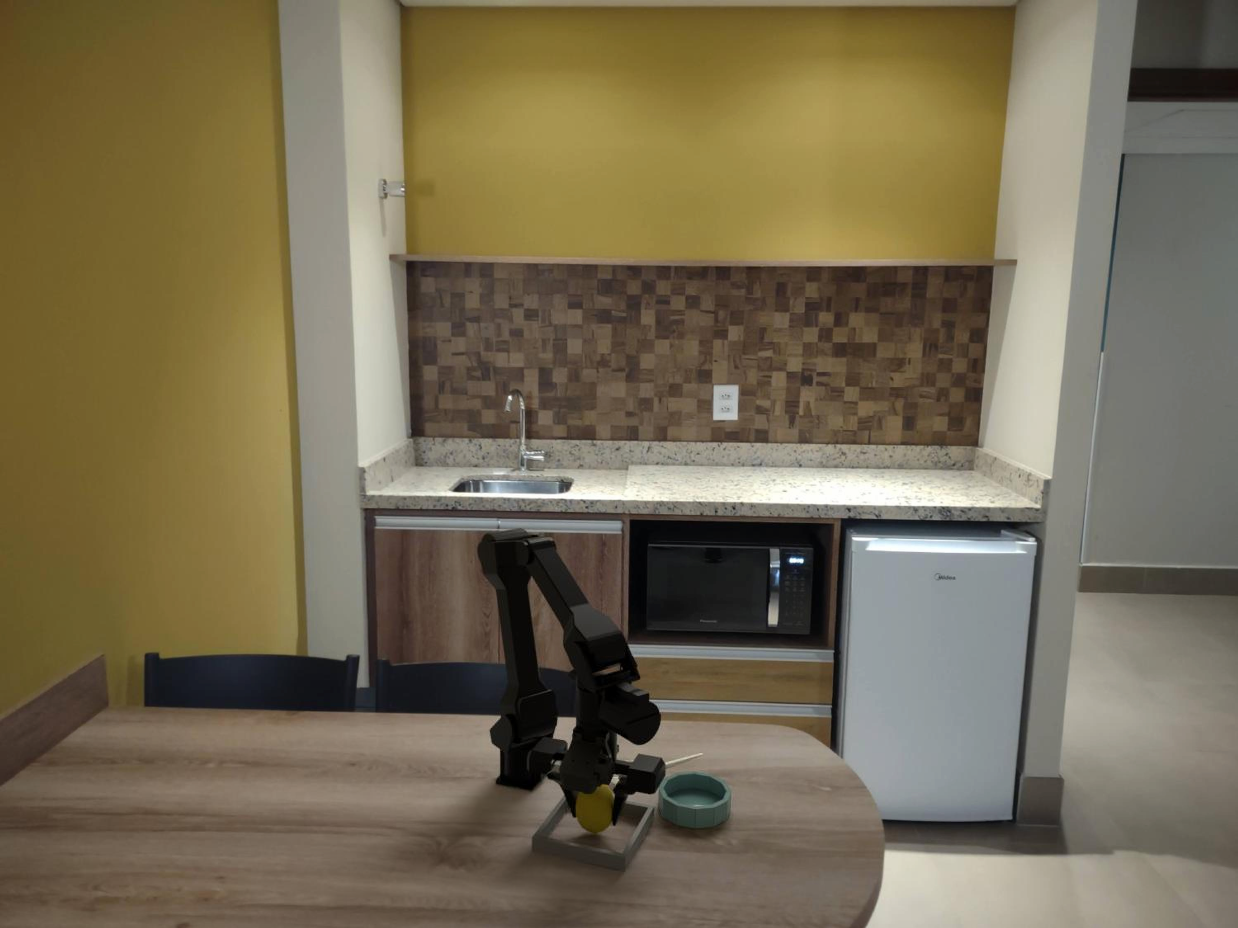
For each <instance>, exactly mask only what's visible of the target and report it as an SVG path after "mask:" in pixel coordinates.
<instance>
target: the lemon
mask: <svg viewBox="0 0 1238 928" xmlns="http://www.w3.org/2000/svg"><path fill="white" fill-rule="evenodd" d="M613 805H614V793H613V791H612V790H611V788H610V787H609V785H604V784H603V785H601V787H597V789H596V791H595V792H594V793H592V794H584V793H582V792H579V794H578V797H577V800H576V816H577V817H576V820H577V822H578V824H579V825H580V827H581V828H582V829H583V830H585V831H587V832H588V833H591V834H592V835H595V836H596V835H598V834H599V833H603V832H605V830H607V829H608V828H610V827H611V825H612V814H613Z"/></svg>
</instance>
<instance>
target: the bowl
mask: <svg viewBox="0 0 1238 928" xmlns="http://www.w3.org/2000/svg"><path fill="white" fill-rule="evenodd" d="M657 799H658V800H657V802H658V803H657V808H658V809H659V812H660V814H661V816H662V817H663V818H664V819H666V820H667V821H669V822H671V823H673V824H674V825H677V826H682V827H685V828H691V829H703V828H713V827H716V826H717V825H720V824H721V823H723V822H725V821H727V820H728V818H729V815H730V813H731V811H732V810H731V809H732V807H731V806H732V790H731V788H730V787H729V785H728V783H727V782H726V781H725V780H723V779H721V778H719V776H718V777H717V776H715V775H714V774H712V773H711V774H710V773H705V772H701V771H700V772H699V771H683V772H682V771H681V772H675V773H673V774H671V775H669V776H667V777H664V779H663V781H662V782H661V784H660V786H659V788H658V798H657Z"/></svg>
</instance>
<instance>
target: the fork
mask: <svg viewBox="0 0 1238 928" xmlns="http://www.w3.org/2000/svg"><path fill="white" fill-rule="evenodd" d="M701 756H704V753H702V752H701V753H696V754H692V755H688V756H684V757H682V758H677V759H674V760H671V761H670V760H669V761H666V762H665V764H666V769H668V768H671V767H673V766H676V765H679V764H682V763H684V762H688V761H691V760H692V759H696V758H698V757H701ZM618 781H619V779H618V776H613V778H612V780H611V783H610V784H612V785H615V786H616V784H617V783H618Z"/></svg>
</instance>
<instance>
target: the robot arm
mask: <svg viewBox="0 0 1238 928" xmlns="http://www.w3.org/2000/svg"><path fill="white" fill-rule="evenodd" d="M476 550H477V557H478V560H479V562H480V565H481V570H482V574H483V576H484V577H485V579H487V581H488V582H489V583H490V584H491V586H492V587H493V589H494V590H495V593H496V600H497V601H496V602H497V609H498V617H499V626H500V631H501V632H500V633H501V642H502V647H503V654H504V661H505V662H504V663H505V670H506V671H505V672H506V676H507V677H506V679H507V685H506V688H505V690H504V692H503V695H502V697H501V700H500V703H499V704H500V705H499V706H500V708H499V710H500V711H499V712H500V718H499V719H498V720H497V721H496V722H495V724H493V725H492V726H491V728H490V729H489V736H490V742H491V744H492V745H493V746H495V747H496V748H497V749H499V775H498V777H496V779H495V780H494V781H495V782H494V783H495V785H501V786H505V787H510V788H514V789H515V788H516V789H521V790H525V791H530V792H531V791H534V790H535V789H536V788H537V787H538V785H540V783H541V782H542V781H543V780H544V778H547V779H548V780H550V781H553V782H555V783H557V785H559V787H560V789H561V791H562V793H563V796H564V795H565V798H566V800H567V803H568V806H569V808H568V809H569V811H570V814H571V816H572V818H573V819H577V816H576V800H577V797H578V794H579V792H582V793H584V794H592V793H594V792H595V791H596V789H597V787H601V785H603V784H604V785H607V786H609V785H611V784H612V783H611V780H612V778H613V777H614V775H616V776H617V777H618V779H619V781H618V783H617V784H616V785H615V786H614V787H613V789H612V794H613V797H614V805H613V814H612V823H611V825H612V826H613V827H616V826H617V824H618V823H619V819H620V817H621V816H622V815H621V813H622V810H623V808H624V805H625V802H626V801H628V800H627V799H628V797H629V796H633V795H635V794H636V793H640V794H646V795H655V794H656V793H657V791H658V790H659V786H660V784H661V783H662V781H663V779H664V778H666V771H667V770H666V769H667V768H666V764H665V763H666V762H665V761H664V760H663V758H662V756H661V757H660V756H655V755H649V754H643V753H637V755H636V756H635V758H634V759H626V760H621V759H620V760H619V759H618V758H617V756H618V754H619V753H620V744H618V736H620V737H621V738H623V739H625V740H627V741H629V742H630V743H632V744H633V745H635V746H644V745H647V743H650V742H651V740H653V739H654V737H655V736H656V735H657V733H658V731H659V729H660V726H661V722H662V714H661V713H660V709H659V707H658V706H657V704H656V703H654V702H653V701H651V700H650V692H649V691H646V690H645V689H641V688H638V687H636V686H635V685H633V683H634V682H635V683H636V682H637V681H640V680H641V676H640V671H639V670H638V667H639V665H638V664H637V662H636V659H635V658H634V655H633V654H632V650H631V649H630V647H629V643H628V642H627V639H626V637H625V635H624V633H623V631H622V630H621V628H619V626H617V624H616V622H614V620H613V619H612V618H611V616H608V614H605V613H604V612H601V611H600V610H598V609H596V608H594V607H593V605H592V604H591V603H590V601H589V600H588V598H587V597H586V594H585V593H584V592H583V590H582V589H581V587H580V586H579V584H578V583H577V581H576V580H575V579H576V578H575V577H574V576H573V575H572V573H571V572H570V570H569V568H568V567H567V565H566V564H565V562H564V561H563V559H562V557H561V556H560V553H558V551H557V550H558V548H557V544H556V542H555V540H554V539H553V538H552V537H550V536H547V535H542V534H536V533H529V532H528V531H527V530H525V529H524V528H520V527H519V528H513V529H507V530H499V531H494V532H488V533H485V534H483V536H482V537H481V541H480V542H479V543H478V544H477V549H476ZM531 579H533V581H534V583H535V584H536V586H537V587H538V589H539V591H540V593H541V594H542V595H543V597H544V599H545V601H546V602H547V604H548V606H549V608H551V610H552V612H553V614H554V616H555V617H556V619H557V621H558V622H559V624H560V626H561V628H562V630H563V635H562V647H563V649H564V651H565V653H566V656H567V658H568V661H569V663H570V665H571V666H572V668H573V669H571V670H569V671H568V672H567V677H568V678H569V679H571V680H573V681H575V683H576V685H575V686H576V687H575V688H576V689H575V691H576V693H575V695H576V696H575V701H576V702H575V726H574V727H573V728H572V734H571V741H570V744H568V742H567V741H566V740H564V739H559V738H554V735H555V731H556V728H557V726H558V720H559V715H560V714H559V711H558V706H557V702H556V701H557V700H556V699H557V698H556V697H557V695H556V693H555V691H554V690H553V689H549V688H548V687H547V685H545V683H544V682H543V681H542V679H541V675H540V668H539V660H538V654H537V647H536V638H535V632H534V625H533V624H534V623H533V616H532V615H533V614H532V608H531V602H530V600H531V599H530V594H529V584H530V581H531ZM619 666H620V667H621V669H619V670H616V671H612V672H609V673H606V672H604V671H605V670H606V671H607V670H610V669H612V668H616V667H619Z"/></svg>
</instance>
